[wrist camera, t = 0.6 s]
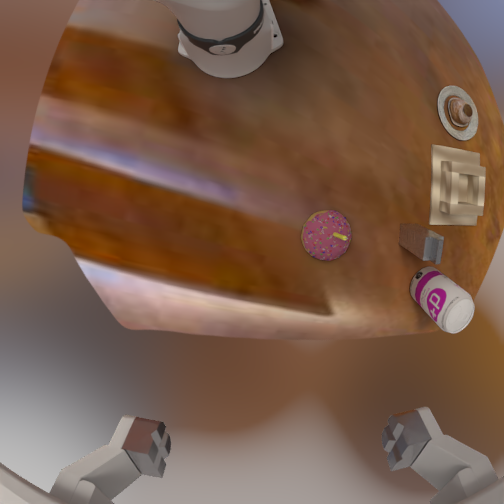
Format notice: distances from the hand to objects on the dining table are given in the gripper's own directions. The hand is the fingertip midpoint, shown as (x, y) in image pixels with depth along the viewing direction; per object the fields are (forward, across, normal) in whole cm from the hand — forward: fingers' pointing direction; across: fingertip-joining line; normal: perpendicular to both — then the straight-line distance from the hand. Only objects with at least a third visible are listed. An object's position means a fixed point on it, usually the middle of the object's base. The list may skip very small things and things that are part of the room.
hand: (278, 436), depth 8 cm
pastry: (+44, -41, -22) cm, 64 cm away
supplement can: (+44, -34, +15) cm, 58 cm away
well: (+44, -40, -6) cm, 59 cm away
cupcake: (+44, -10, +3) cm, 45 cm away
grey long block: (+44, -28, +4) cm, 52 cm away
